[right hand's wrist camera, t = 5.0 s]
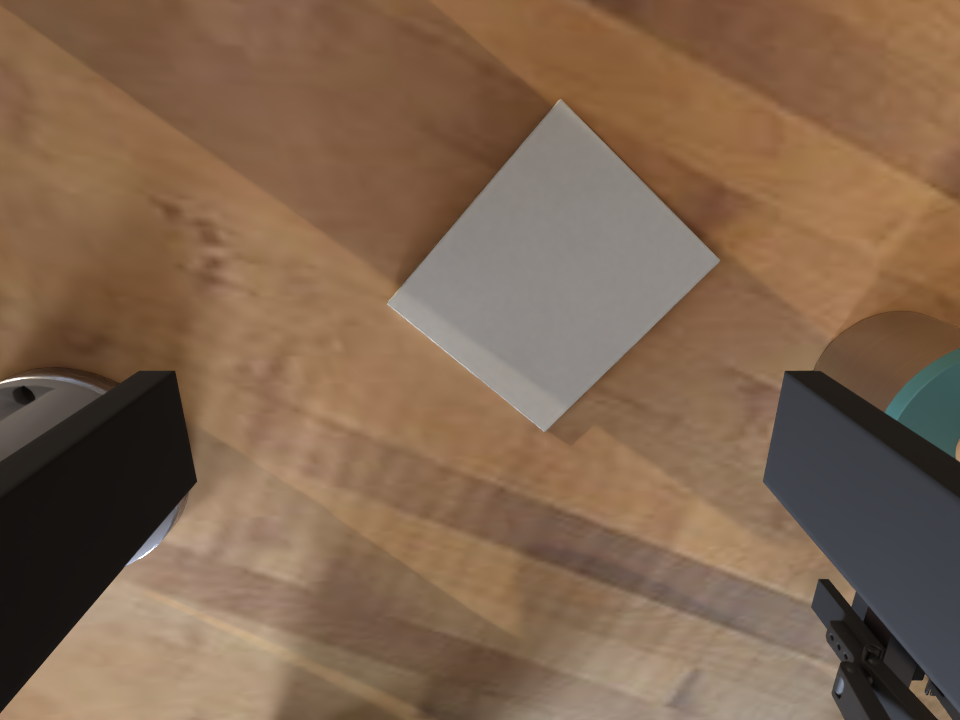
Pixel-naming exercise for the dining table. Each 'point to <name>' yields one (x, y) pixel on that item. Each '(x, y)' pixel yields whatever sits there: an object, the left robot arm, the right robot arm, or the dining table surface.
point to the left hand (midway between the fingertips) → (840, 593)
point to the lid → (933, 404)
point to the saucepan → (887, 398)
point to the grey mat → (553, 270)
